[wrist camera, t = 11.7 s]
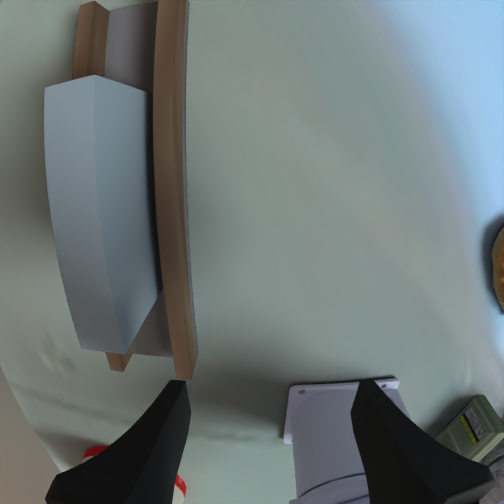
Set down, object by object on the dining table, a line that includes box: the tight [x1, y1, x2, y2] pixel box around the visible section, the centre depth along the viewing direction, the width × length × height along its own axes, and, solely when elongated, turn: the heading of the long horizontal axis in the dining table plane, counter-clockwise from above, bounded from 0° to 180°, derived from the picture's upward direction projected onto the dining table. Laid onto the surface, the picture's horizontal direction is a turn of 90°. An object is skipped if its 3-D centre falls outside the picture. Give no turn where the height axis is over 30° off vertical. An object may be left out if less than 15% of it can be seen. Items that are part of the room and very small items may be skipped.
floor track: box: [72, 0, 198, 379], centre depth 17 cm, size 6×24×3 cm, turn 0°
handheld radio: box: [435, 395, 504, 462], centre depth 26 cm, size 7×3×25 cm
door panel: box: [44, 75, 163, 354], centre depth 15 cm, size 2×12×7 cm, turn 179°
